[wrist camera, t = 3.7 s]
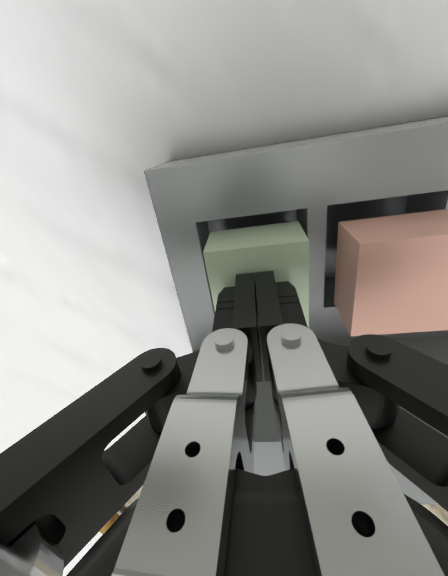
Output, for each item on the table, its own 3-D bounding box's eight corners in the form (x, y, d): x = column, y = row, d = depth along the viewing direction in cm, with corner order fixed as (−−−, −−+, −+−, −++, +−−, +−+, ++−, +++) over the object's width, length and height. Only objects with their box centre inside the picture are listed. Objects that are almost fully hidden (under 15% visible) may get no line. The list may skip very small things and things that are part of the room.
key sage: (293, 213, 13) (309, 240, 10) (295, 284, 15) (308, 326, 12) (213, 223, 14) (203, 252, 11) (224, 290, 16) (219, 333, 13)
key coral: (426, 201, 12) (494, 229, 9) (409, 282, 14) (459, 329, 11) (330, 213, 12) (359, 243, 9) (327, 289, 14) (350, 336, 11)
